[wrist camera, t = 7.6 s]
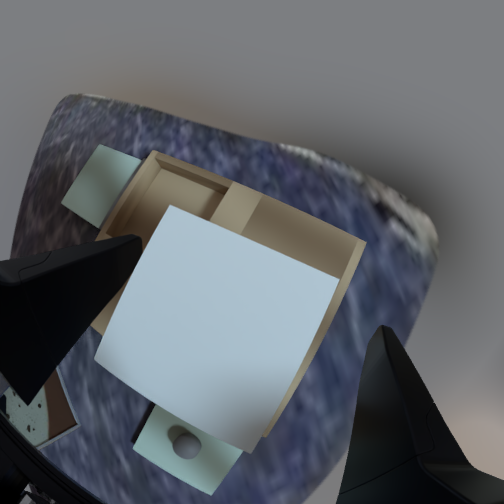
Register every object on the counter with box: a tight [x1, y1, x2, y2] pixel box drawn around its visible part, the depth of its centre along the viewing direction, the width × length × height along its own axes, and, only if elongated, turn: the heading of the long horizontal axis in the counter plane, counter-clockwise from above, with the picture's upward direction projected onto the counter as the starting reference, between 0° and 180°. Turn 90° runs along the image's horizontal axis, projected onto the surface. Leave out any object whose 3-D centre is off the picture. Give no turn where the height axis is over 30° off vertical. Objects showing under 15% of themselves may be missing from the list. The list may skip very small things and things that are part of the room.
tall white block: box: [94, 205, 340, 454], centre depth 11 cm, size 4×4×11 cm
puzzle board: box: [61, 145, 367, 495], centre depth 17 cm, size 18×22×2 cm
